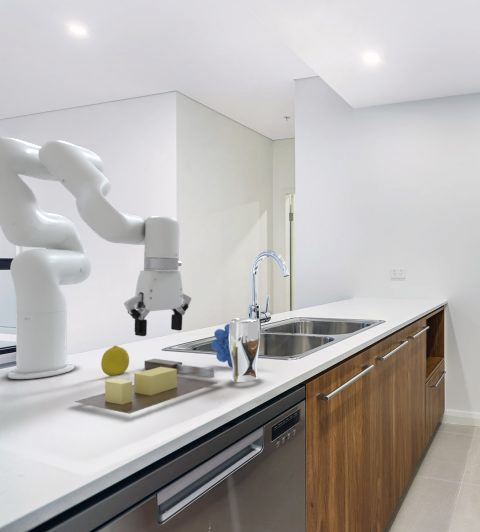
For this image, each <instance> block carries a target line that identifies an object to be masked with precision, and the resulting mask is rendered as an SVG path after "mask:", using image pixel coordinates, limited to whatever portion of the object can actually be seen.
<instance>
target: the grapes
mask: <svg viewBox="0 0 480 532" xmlns="http://www.w3.org/2000/svg"><path fill="white" fill-rule="evenodd" d="M229 326H230V323H226V324H225V326H224V329H223V328H222V329H221V328H218V329H216V330H215V331H214V332H213V333H214V338H215V339H214V340H212V341H211V343H210V346H211V349H212V350H214V351H215V352H217V353H216V354H215V355H216V359H217V360H218V361H219V362H221V363H225V362H227V365H228V366H229V367H230V368H232V369H233V366H232V360H231V354H230V349H229Z"/></svg>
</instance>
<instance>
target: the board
mask: <svg viewBox="0 0 480 532" xmlns="http://www.w3.org/2000/svg"><path fill="white" fill-rule="evenodd" d="M216 384H217V382H215V381H209V380H204V379H197V378H189V377H185V376H184V377H183V376H177V387H176V388H173V389H170V390H167V391H164V392H161V393H157V394H154V395H151V396H150V395H145V394H139V393H134V384H132V402H130V403H126V404H123V405H120V404H115V403H110V402H105V392H103V393H99V394H96V395H93V396H90V397H85V398H83V399H79V400H75V401H74V402H75V403H79V404H83V405H88V406H92V407H97V408H102V409H106V410H110V411H115V412H119V413H124V414H129V415H130V414H132V413H136V412H139V411H142V410H144V409H147V408H151V407H153V406H156V405H158V404H161V403H165V402H168V401H170V400H173V399H175V398H178V397H181V396H185V395H187V394H190V393H193V392H196V391H199V390H202V389H205V388H208V387H211V386H214V385H216Z"/></svg>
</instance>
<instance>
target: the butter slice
mask: <svg viewBox="0 0 480 532" xmlns="http://www.w3.org/2000/svg"><path fill="white" fill-rule="evenodd" d="M132 385H133V381H132V380H126V379H119V378H112V379H108V380H105V381H104V393H105V402H110V403H115V404H120V405H123V404H126V403H130V402H132Z"/></svg>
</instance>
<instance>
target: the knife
mask: <svg viewBox="0 0 480 532" xmlns="http://www.w3.org/2000/svg"><path fill="white" fill-rule="evenodd" d="M158 367H165V368H172V369H177V373H180V374H181V373H182V374H188V375H196V376H203V377H208V378H215V369H214V368H211V367H210V368H209V367H201V366H194V365H187V364H183V362H182V361H175V360H168V359H161V358H151V359H148V360H144V370H151V369H154V368H158Z"/></svg>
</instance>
